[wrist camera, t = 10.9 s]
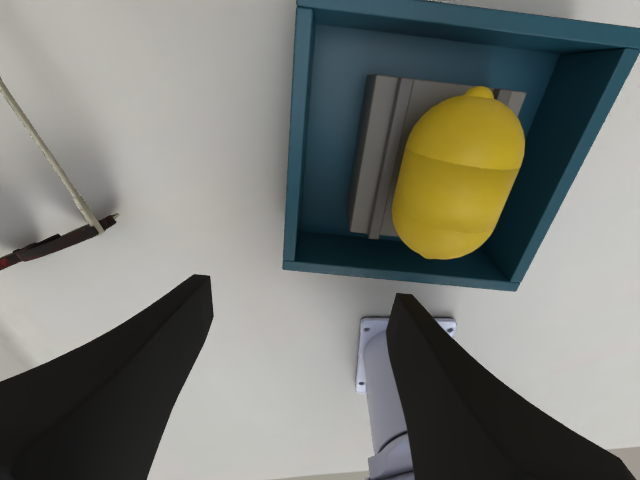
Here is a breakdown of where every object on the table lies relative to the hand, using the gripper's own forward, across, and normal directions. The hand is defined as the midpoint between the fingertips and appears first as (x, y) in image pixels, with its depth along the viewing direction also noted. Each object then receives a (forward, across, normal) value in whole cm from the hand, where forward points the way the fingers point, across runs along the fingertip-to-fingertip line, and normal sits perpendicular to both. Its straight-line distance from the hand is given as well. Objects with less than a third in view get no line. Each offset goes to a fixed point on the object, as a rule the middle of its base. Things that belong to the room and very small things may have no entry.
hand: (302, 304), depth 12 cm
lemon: (+6, -6, -4) cm, 10 cm away
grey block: (+10, -6, -4) cm, 12 cm away
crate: (+10, -6, -4) cm, 13 cm away
